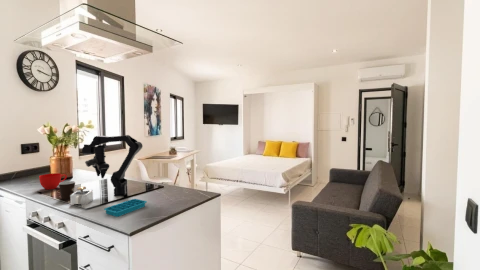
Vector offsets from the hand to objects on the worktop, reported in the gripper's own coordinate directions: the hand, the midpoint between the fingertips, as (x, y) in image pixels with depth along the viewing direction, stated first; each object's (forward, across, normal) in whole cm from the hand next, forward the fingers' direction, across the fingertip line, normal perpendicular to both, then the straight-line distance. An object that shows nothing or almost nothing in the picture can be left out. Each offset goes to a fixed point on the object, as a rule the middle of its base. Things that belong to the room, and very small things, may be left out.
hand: (100, 177), depth 164 cm
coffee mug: (+12, -8, -16) cm, 22 cm away
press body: (+12, +11, -14) cm, 21 cm away
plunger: (+11, +10, -13) cm, 20 cm away
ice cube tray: (+12, +42, +2) cm, 44 cm away
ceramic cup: (+12, -44, -20) cm, 50 cm away
